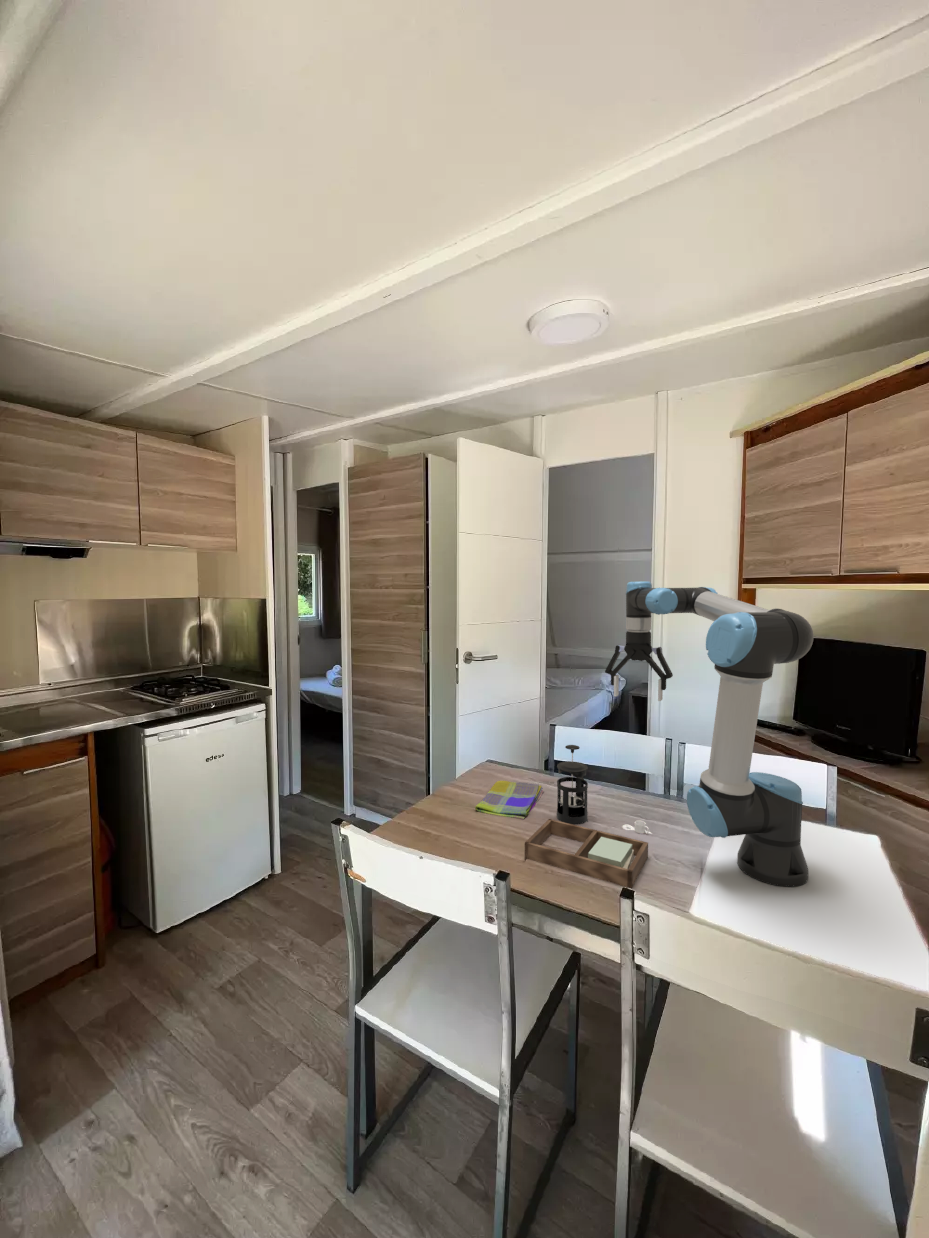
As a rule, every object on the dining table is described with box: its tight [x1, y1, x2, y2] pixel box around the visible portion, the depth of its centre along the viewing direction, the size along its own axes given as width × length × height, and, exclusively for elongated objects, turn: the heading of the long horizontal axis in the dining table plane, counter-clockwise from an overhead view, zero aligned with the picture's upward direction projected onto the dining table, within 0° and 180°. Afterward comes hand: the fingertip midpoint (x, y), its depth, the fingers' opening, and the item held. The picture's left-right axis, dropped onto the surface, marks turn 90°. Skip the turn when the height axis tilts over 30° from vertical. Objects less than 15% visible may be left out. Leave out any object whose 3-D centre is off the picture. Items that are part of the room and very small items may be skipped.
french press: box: [556, 744, 589, 826], centre depth 158 cm, size 12×9×23 cm
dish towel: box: [474, 780, 544, 820], centre depth 174 cm, size 18×24×3 cm
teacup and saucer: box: [621, 819, 653, 835], centre depth 149 cm, size 9×8×4 cm
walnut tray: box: [524, 818, 649, 889], centre depth 135 cm, size 27×16×5 cm, turn 58°
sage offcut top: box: [588, 837, 632, 867], centre depth 132 cm, size 8×10×2 cm
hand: (637, 698), depth 167 cm, fingers open, 13 cm apart
